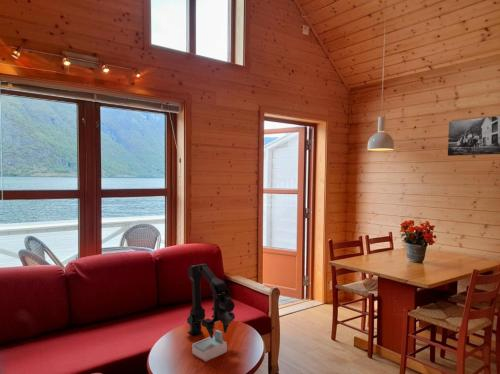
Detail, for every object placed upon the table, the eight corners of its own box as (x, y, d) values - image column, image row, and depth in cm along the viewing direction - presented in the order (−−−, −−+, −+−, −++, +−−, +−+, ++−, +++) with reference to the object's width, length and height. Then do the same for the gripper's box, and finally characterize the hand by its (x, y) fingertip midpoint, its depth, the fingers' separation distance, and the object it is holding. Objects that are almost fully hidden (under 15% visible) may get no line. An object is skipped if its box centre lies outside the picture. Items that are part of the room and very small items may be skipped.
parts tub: (192, 353, 180) (192, 343, 180) (213, 344, 191) (213, 335, 190) (205, 361, 173) (205, 351, 173) (226, 351, 183) (226, 342, 183)
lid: (193, 346, 180) (193, 336, 180) (214, 337, 190) (214, 328, 189) (204, 352, 174) (204, 342, 173) (225, 343, 183) (225, 333, 183)
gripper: (215, 315, 173) (214, 346, 174) (242, 305, 186) (241, 334, 187) (201, 309, 181) (200, 339, 181) (228, 300, 194) (227, 328, 195)
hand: (218, 335), depth 186 cm, fingers open, 9 cm apart
